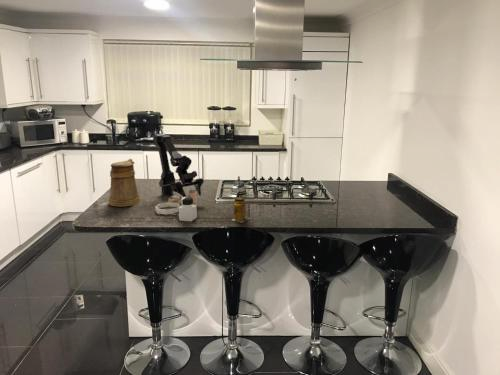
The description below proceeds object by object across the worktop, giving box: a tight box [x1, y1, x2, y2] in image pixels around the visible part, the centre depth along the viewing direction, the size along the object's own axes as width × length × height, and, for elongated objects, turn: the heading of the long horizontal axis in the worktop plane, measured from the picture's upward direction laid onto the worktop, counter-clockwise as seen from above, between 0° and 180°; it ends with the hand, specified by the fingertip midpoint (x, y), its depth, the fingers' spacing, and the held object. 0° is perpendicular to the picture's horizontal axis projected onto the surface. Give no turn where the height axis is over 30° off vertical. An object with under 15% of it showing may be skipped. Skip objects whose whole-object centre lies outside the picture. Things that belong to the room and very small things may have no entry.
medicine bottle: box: [178, 196, 198, 223], centre depth 228 cm, size 7×7×12 cm
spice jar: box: [188, 189, 198, 209], centre depth 246 cm, size 4×4×11 cm
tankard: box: [108, 158, 141, 207], centre depth 257 cm, size 18×24×25 cm
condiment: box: [231, 196, 252, 223], centre depth 227 cm, size 7×8×12 cm
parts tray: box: [167, 195, 182, 205], centre depth 258 cm, size 10×8×3 cm
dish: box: [154, 201, 182, 215], centre depth 242 cm, size 13×13×3 cm
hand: (193, 196), depth 245 cm, fingers open, 9 cm apart
